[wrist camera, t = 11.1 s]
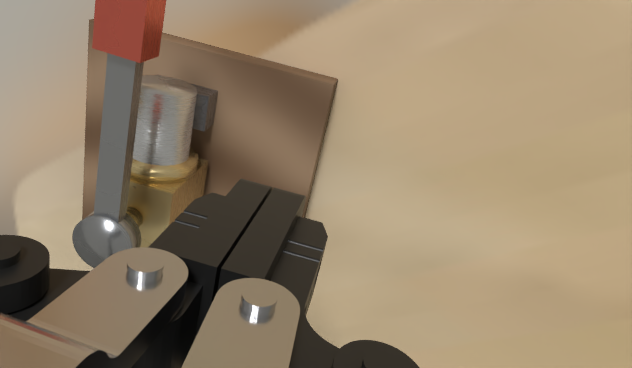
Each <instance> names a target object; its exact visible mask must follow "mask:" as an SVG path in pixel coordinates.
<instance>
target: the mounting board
mask: <svg viewBox="0 0 632 368" xmlns="http://www.w3.org/2000/svg"><path fill="white" fill-rule="evenodd" d="M93 28H94V19H91V20H89V41H88V70H87V99H86V128H85V129H86V130H85V157H84V186H83V215H82V220H83V219H84V218H86V217H87V216H88V215H90V214H91V213H92V212H94V205H95V193H96V181H97V170H98V158H99V147H100V135H101V124H102V112H103V100H104V89H105V77H106V66H107V54H108V53H106V52H103V51H99V50H96V49H93V48H92V42H93ZM157 74H158V75H161V76H166V77H172V78H176V79H180V80H183V81H186V82H188V83H191V84H195V85H198V86H202V87H206V88H209V89H213V90H217V91H218V95H217V102H216V109H215V116H214V123H213V125H212V126H211V127H209V128H208V129H207V130H206V131H200V130H197V129H193V128H192V135H191V143H190V147H191V148H193V149H194V150H195V151H196V152H197V154H198V158H201V159H205V160H208V166H207V173H206V180H205V187H204V194H203V196H205V195H207V194H210V193H212V192H213V193H216V194H220V195H223V196H226V195H227V194H228V193H229V191H230V190H231V189H232V188H233V187H234V185H235V184H236V183H237V182H238V181H239V180H240V179H241V178H242V179H245V180H249V181H253V182H256V183H260V184H264V185H267V186H271V187H273V188H274V187H275V188H279V189H282V190H286V191H290V192H293V193H297V194H301V195H304V196H306V200H305V206H304V210H303V215H302V217H303V218H305V214H306V210H307V206H308V202H309V197H310V193H311V189H312V185H313V181H314V177H315V172H316V168H317V164H318V160H319V156H320V152H321V147H322V143H323V139H324V135H325V131H326V127H327V123H328V118H329V114H330V110H331V106H332V102H333V98H334V93H335V89H336V85H337V81H338V79H336V78H332V77H328V76H325V75H321V74H317V73H313V72H309V71H306V70H302V69H298V68H294V67H291V66H287V65H283V64H279V63H275V62H272V61H268V60H264V59H260V58H256V57H253V56H249V55H245V54H241V53H238V52H234V51H230V50H226V49H222V48H219V47H215V46H211V45H207V44H204V43H200V42H196V41H192V40H188V39H185V38H181V37H177V36H173V35H169V34H166V33H162V36H161V44H160V52H159V57H156V58H153V59H150V60H147V61H145V62H144V66H143V74H142V76H143V75H157Z"/></svg>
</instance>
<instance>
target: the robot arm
mask: <svg viewBox="0 0 632 368" xmlns="http://www.w3.org/2000/svg"><path fill="white" fill-rule="evenodd" d="M305 200H306V196H304V195H301V194H297V193H293V192H290V191H286V190H282V189H279V188H275V187H274V188H273V187H271V186H267V185H264V184H260V183H256V182H253V181H249V180H245V179H242V178H241V179H240V180H239V181H238V182H237V183H236V184H235V185H234V187H233V188H232V189H231V190H230V191H229V193H228V194H227V195H226V196H223V195H220V194H216V193H213V192H212V193H210V194H207V195H205V196H202V197H199V198H197V199H194V200H193V201H192V202H191V203H190V205H189V206H188V207H187V208H186V209H185V210H184V212H183V213H181V214H180V215H179V216H178V217H177V218H176V219H175V222H172V223H171V224H170V225H169V226H168V227H167V228H166V229H165V230H164V231H163V232H162V233H161V234H160V236H159V237H158V238H157V239H156V240H155V241H154V242H153V243H152V244H151V245H150V246H149V247H148V248H147V247H142V248H131V249H126V250H122V251H119V252H117V253H115V254H112V255H111V256H109V257H108V258H107V259H105V260H104V261H103V262H102V263H100V264H99V265H98V266H97V267H95V268H94V269H93V270H91V271H78V270H64V269H50V268H49V252H48V250H47V248H46V247H45V246H44V245H43V244H41V243H40V242H38V241H36V240H34V239H31V238H27V237H22V236H15V235H0V368H419V367H418V365H417V364H416V363H415V362H414V361H413V360H412V359H411V358H410V357H409V356H407V355H406V354H405V353H403V352H402V351H400V350H399V349H397V348H395V347H393V346H390V345H388V344H385V343H382V342H378V341H372V340H358V341H353V342H350V343H348V344H346V345H344V346H343V347H341V348H340V349H339V348H337V347H336V346H334V345H332V344H330V343H329V342H327V341H326V340H324V339H323V338H322V337H320V336H319V335H318V334H317V333H316V332H315V331H314V330H313V329H312V327H311V326H310V325H309V323H308V321H307V319H306V314H307V311H308V308H309V305H310V301H311V298H312V295H313V292H314V288H315V284H316V280H317V276H318V272H319V269H320V265H321V261H322V257H323V253H324V249H325V245H326V241H327V237H328V236H327V233H326V231H325V228H324V226H323V223H321V222H318V221H314V220H310V219H307V218H303V217H302V215H303V210H304V206H305Z"/></svg>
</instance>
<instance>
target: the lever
mask: <svg viewBox="0 0 632 368" xmlns="http://www.w3.org/2000/svg"><path fill="white" fill-rule="evenodd" d="M165 5H166V0H96V1H95V15H94V28H93V42H92V48H93V49H96V50H99V51H103V52H106V53H108V54H107V66H106V77H105V89H104V100H103V112H102V124H101V135H100V147H99V158H98V170H97V181H96V193H95V205H94V212H92V213H91V214H90V215H88V216H87V217H86V218H84V219H83V220H82V221H80V222H79V223H78V224H77V225H76V227H75V228H74V231H73V244H74V247H75V250H76V252H77V253H78V255H79V256H80V257H81V258H82V260H83V261H85V262H86V263H87V264H88V265H90V266H91V267H93V268H95V267H97V266H98V265H99V264H100V263H102V262H103V261H104V260H105V259H107V258H108V257H109V256H111V255H112V254H115V253H117V252H119V251H122V250H126V249H131V248H140V245H141V232H140V229H139V227H138V225H137V224H136V222H135V221H134V219H133V218H132V217H131V216H130V215H128V214H127V213H126V211H127V202H128V194H129V185H130V177H131V168H132V160H133V151H134V142H135V134H136V125H137V117H138V108H139V100H140V91H141V83H142V74H143V66H144V62H145V61H147V60H150V59H153V58H156V57H159V52H160V44H161V36H162V28H163V21H164V13H165Z"/></svg>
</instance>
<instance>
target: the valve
mask: <svg viewBox="0 0 632 368" xmlns="http://www.w3.org/2000/svg"><path fill="white" fill-rule="evenodd" d="M217 95H218V91H217V90H213V89H209V88H206V87H202V86H198V85H195V84H191V83H188V82H186V81H183V80H180V79H176V78H172V77H166V76H161V75H158V74H157V75H143V76H142V83H141V91H140V100H139V108H138V117H137V125H136V134H135V142H134V151H133V160H132V168H131V177H130V185H129V194H128V202H127V211H126V213H127V214H128V215H130V216H131V217H132V218H133V219H134V221H135V222H136V224H137V225H138V227H139V229H140V232H141V245H140V248H142V247H147V248H148V247H149V246H150V245H151V244H152V243H153V242H154V241H155V240H156V239H157V238H158V237H159V236H160V234H161V233H162V232H163V231H164V230H165V229H166V228H167V227H168V226H169V225H170V224H171V223H172V222H175V219H176V218H177V217H178V216H179V215H180V214H181V213H183V212H184V210H185V209H186V208H187V207H188V206H189V205H190V203H191V202H192V201H193V200H194V199H197V198H199V197H202V196H203V194H204V187H205V180H206V173H207V166H208V160H205V159H201V158H198V154H197V152H196V151H195V150H194V149H193V148H191V147H190V143H191V135H192V128H193V129H197V130H200V131H206V130H207V129H208V128H209V127H211V126H212V125H213V123H214V116H215V109H216V102H217Z"/></svg>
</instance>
